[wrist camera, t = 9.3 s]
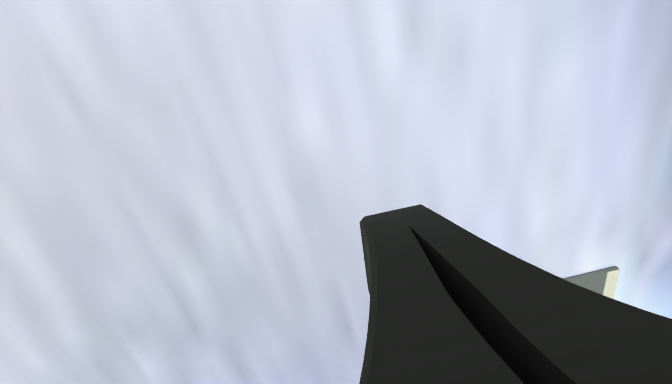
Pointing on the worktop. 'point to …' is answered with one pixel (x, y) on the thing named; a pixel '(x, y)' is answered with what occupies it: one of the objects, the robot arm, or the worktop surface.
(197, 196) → the worktop surface
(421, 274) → the robot arm
